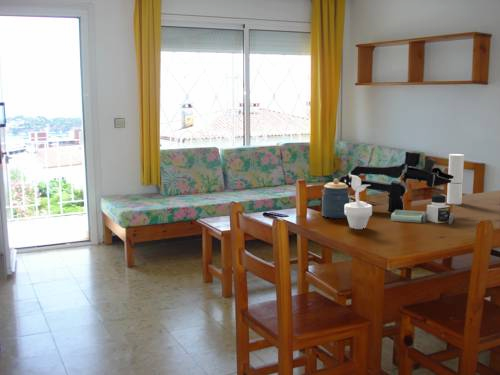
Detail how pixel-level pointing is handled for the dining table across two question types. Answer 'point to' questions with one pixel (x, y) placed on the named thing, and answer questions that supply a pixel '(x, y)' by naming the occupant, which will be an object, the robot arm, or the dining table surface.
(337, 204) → the canister
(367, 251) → the dining table surface
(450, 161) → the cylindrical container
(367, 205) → the potted plant
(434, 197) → the medicine bottle
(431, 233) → the dining table surface
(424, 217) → the dock
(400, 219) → the tray
